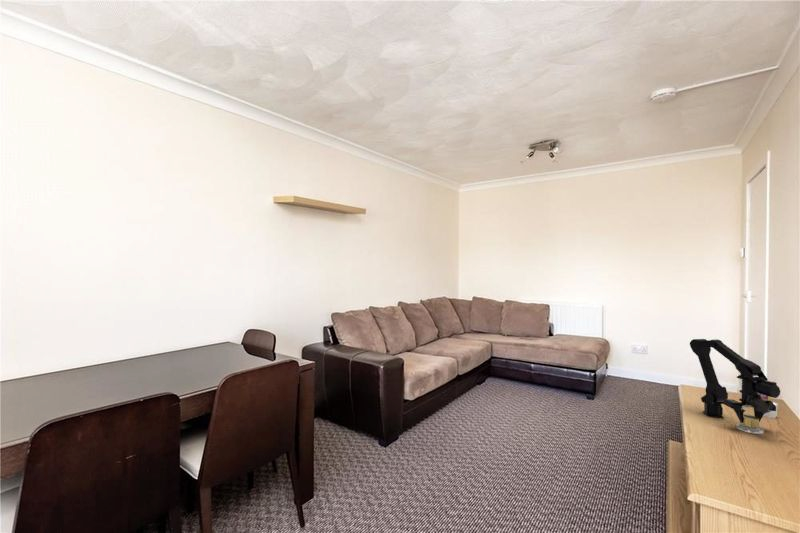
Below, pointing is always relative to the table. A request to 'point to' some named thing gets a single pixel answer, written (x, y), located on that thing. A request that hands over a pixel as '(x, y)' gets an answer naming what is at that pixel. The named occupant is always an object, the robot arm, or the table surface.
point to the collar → (750, 421)
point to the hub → (748, 429)
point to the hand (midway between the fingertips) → (749, 422)
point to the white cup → (772, 412)
